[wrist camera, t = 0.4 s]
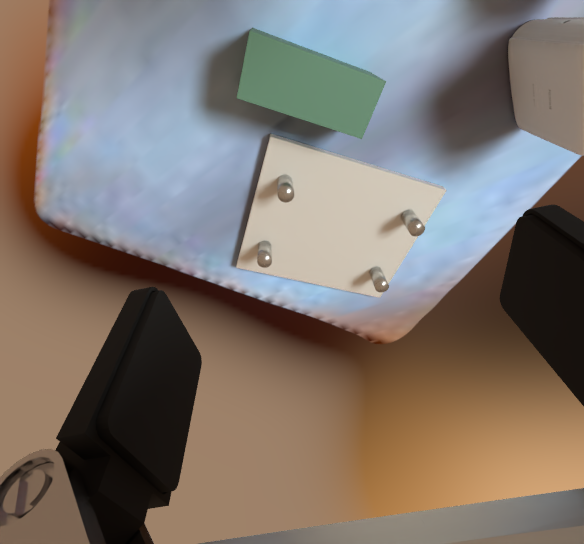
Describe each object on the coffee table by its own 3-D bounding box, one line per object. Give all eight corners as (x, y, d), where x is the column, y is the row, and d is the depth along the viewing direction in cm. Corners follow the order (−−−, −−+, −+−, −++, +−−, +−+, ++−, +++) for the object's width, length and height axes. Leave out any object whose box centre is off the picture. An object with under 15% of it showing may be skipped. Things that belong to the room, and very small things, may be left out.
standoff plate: (270, 133, 37) (270, 146, 33) (442, 186, 41) (459, 203, 38) (236, 262, 47) (234, 283, 43) (377, 292, 52) (386, 314, 48)
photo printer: (501, 34, 32) (602, 43, 22) (549, 7, 31) (677, 4, 21) (511, 132, 38) (595, 173, 28) (552, 113, 37) (654, 148, 27)
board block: (252, 27, 31) (249, 30, 26) (369, 71, 34) (386, 81, 29) (241, 86, 34) (236, 98, 29) (349, 122, 36) (361, 138, 32)
